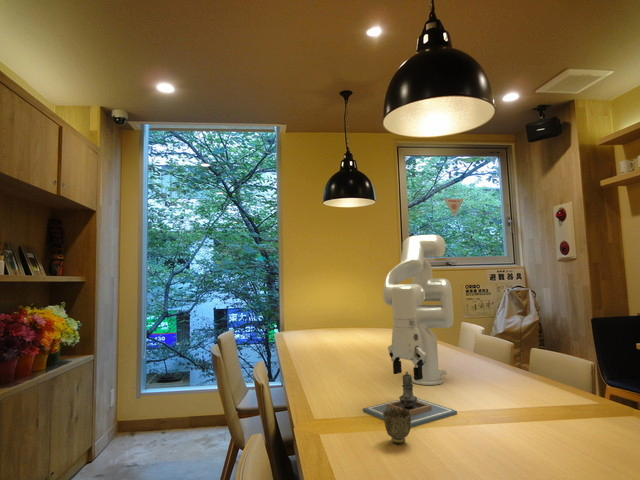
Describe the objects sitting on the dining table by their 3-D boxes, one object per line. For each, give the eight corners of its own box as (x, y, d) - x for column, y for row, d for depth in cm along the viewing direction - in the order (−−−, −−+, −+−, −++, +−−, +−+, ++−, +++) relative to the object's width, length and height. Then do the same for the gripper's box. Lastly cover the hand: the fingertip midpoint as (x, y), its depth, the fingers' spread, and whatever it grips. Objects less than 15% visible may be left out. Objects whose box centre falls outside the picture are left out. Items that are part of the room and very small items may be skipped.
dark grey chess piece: (418, 412, 129) (416, 373, 130) (399, 411, 130) (397, 373, 131) (417, 406, 135) (415, 369, 136) (399, 406, 136) (397, 369, 137)
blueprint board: (412, 399, 147) (411, 392, 147) (457, 414, 130) (456, 405, 130) (363, 411, 135) (362, 403, 135) (405, 429, 118) (404, 420, 118)
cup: (381, 438, 112) (380, 408, 113) (407, 436, 113) (406, 406, 114) (388, 449, 105) (386, 417, 106) (416, 447, 106) (414, 415, 106)
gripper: (432, 324, 130) (435, 379, 129) (395, 320, 144) (398, 369, 143) (415, 327, 126) (418, 384, 125) (379, 322, 141) (381, 373, 139)
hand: (407, 376), depth 134 cm, fingers open, 9 cm apart
